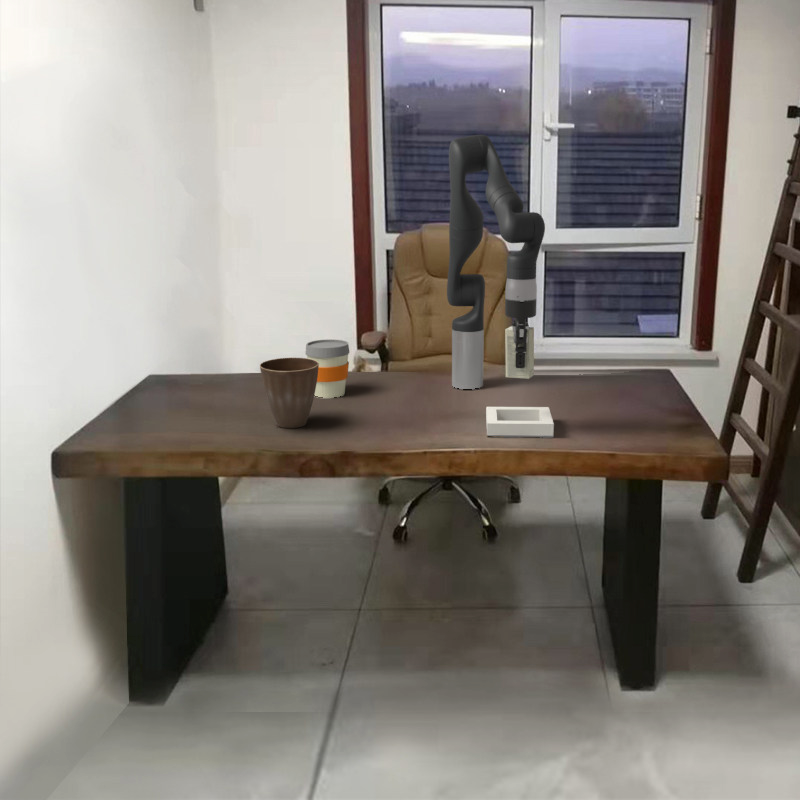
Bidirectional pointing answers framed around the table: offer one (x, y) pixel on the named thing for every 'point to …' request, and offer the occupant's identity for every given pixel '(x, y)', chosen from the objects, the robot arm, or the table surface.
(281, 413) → the plant pot
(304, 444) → the table surface
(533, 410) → the holder
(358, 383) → the table surface
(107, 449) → the table surface
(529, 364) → the skincare box
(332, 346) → the reusable coffee cup
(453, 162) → the robot arm
